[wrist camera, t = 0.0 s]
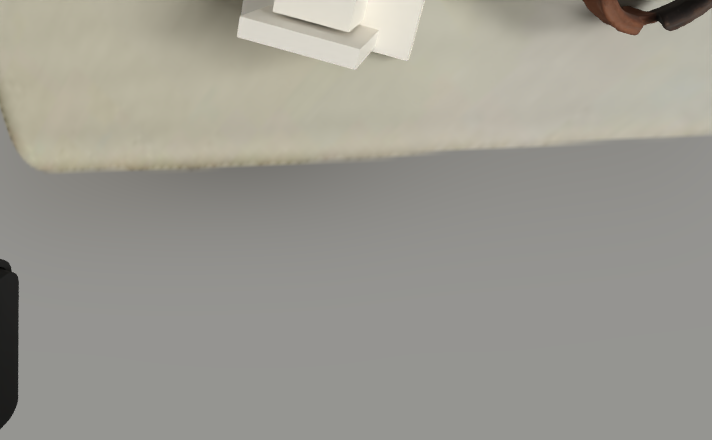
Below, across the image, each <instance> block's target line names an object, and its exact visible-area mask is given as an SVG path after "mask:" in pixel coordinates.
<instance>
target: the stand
mask: <svg viewBox="0 0 712 440" xmlns="http://www.w3.org/2000/svg"><path fill="white" fill-rule="evenodd" d="M424 2H425V0H243V4H242V11H241V16H240V19H239V25H238V32H237V37H239V38H242V39H246V40H249V41H253V42H257V43H260V44H264V45H267V46H271V47H275V48H278V49H282V50H286V51H289V52H293V53H296V54H300V55H304V56H307V57H311V58H314V59H318V60H322V61H325V62H329V63H332V64H336V65H340V66H343V67H347V68H350V69H354V70H356V68H357V67H358V66H359V65H360V64H361V63H362V62H363V60H364V59H365V58H366V57H367V56H368V55H369V54H370V52H371V51H372V52H376V53H380V54H383V55H387V56H390V57H394V58H398V59H401V60H405V61H408V59H409V57H410V54H411V51H412V47H413V43H414V40H415V36H416V32H417V28H418V25H419V21H420V17H421V14H422V10H423V6H424Z"/></svg>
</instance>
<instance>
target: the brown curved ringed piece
mask: <svg viewBox="0 0 712 440" xmlns="http://www.w3.org/2000/svg"><path fill="white" fill-rule="evenodd" d="M583 1H584V3H585V4H586V6H587V8H588V9H589V10H590V11H591V12H592V13H593V14H594V15H595V16H596V17H598V18H599V19H600V20H601V21H602V22H604V23H606V24H608V25H611V26H613V27H614V28H616V30H618V31H620V32H623V33H627V34H630V35H637V34H638V33H639V32H640V30H641V29H642V27H643V25H646V24H650V23H655V22H657V21H659V22H660V23H661V24H662V26H663V27H664V28H665V29H666V30H669V31H672V30H676V29H678V28H680V27H682V26H684V25H686V24H688V23H690V22H692V21H693V20H694V19H696V18H698V17H699V16H701V15H703V14H704V13H705V12H707V11H708V10H709V9H711V8H712V0H675V1H673V2H671V3H669V4H666V5H664V6H661V7H659V8H657V9H654V10H651V11H647V12H646V11H642V10H639V9H636V8H633V7H631V6H623V7H620V5H619V3H618V0H583Z"/></svg>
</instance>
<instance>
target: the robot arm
mask: <svg viewBox="0 0 712 440" xmlns="http://www.w3.org/2000/svg"><path fill="white" fill-rule="evenodd" d="M18 285H19V281H18V276H17V275H16V274H15V273H13V272H12V271H11V266H10V265H9V263H8V262H7V261H5V260H2V259H0V429H1V428H2V427H3V425H5V424H6V423H7V421H8V420H9V419H10V418H11V416H12V414H13V413H14V410H15V408H16V405H17V402H18V300H19V295H18V293H19V292H18V290H19V286H18Z"/></svg>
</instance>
